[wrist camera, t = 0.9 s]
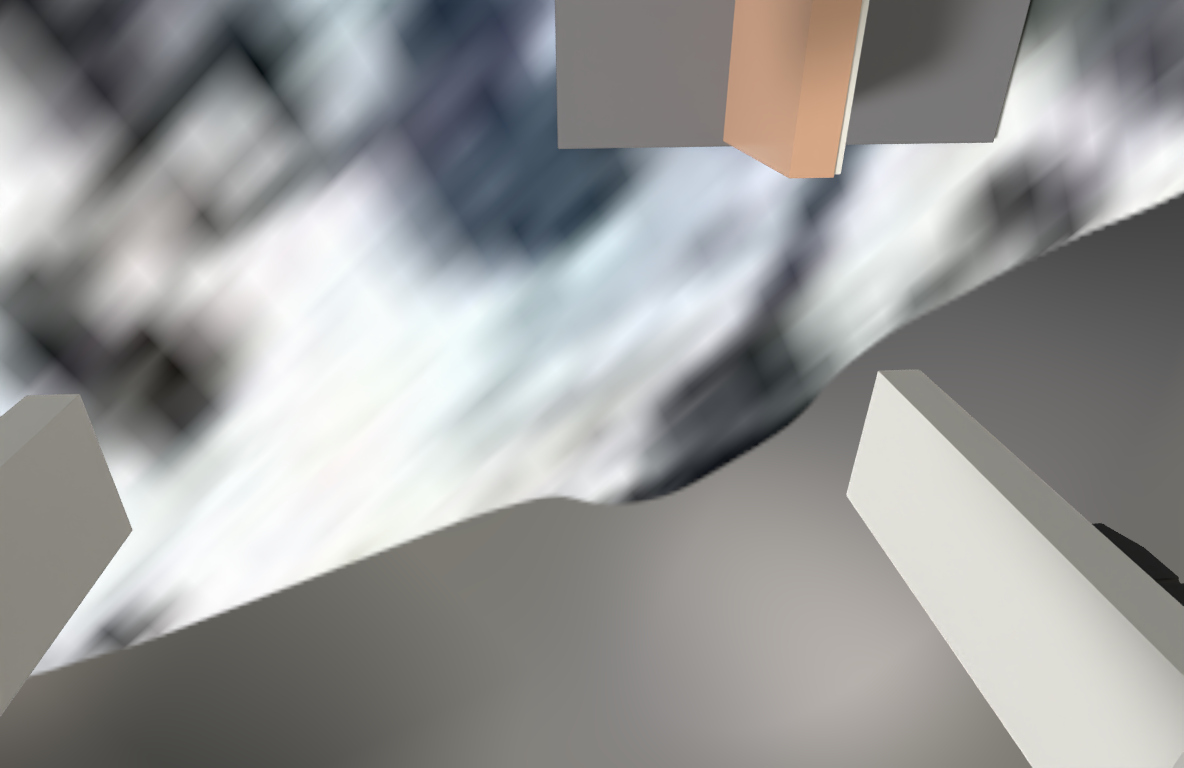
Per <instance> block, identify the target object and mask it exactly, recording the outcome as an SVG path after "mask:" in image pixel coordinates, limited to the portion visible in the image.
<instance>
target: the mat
mask: <svg viewBox="0 0 1184 768" xmlns="http://www.w3.org/2000/svg"><path fill="white" fill-rule="evenodd" d="M1029 4H1030V0H869V6H868V12H867V18H866V24H865V30H864V36H863V42H862V48H861V54H860V60H859V66H858V72H857V78H856V84H855V90H854V96H853V102H852V108H851V114H850V120H849V126H848V132H847V138H846V144H845V145H851V144H920V143H989V142H993V141H994V137H995V133H996V129H997V125H998V122H999V118H1000V114H1001V110H1002V106H1003V103H1004V99H1005V95H1006V91H1007V87H1008V84H1009V80H1010V76H1011V72H1012V68H1013V64H1014V61H1015V57H1016V53H1017V49H1018V45H1019V42H1020V38H1021V34H1022V30H1023V26H1024V23H1025V19H1026V15H1027V11H1028V7H1029ZM734 10H735V0H555V26H556V77H557V127H558V149H576V148H645V147H713V146H731V145H729V144H728V143H726V142H724V141H723V136H724V125H725V113H726V102H727V90H728V79H729V67H730V56H731V44H732V33H733V21H734Z"/></svg>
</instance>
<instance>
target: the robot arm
mask: <svg viewBox="0 0 1184 768" xmlns="http://www.w3.org/2000/svg"><path fill="white" fill-rule="evenodd" d="M846 496H847V497H848V499H849V500H850V501H851V503H852V504H853V506H854V507H855V509H856V510H857V512H858V513H859V515H860V516H861V517H862V519H863V520H864V522H865V523H866V525H867V526H868V528H869V529H870V531H871V532H872V534H873V535H874V536H875V538H876V539H877V541H878V542H879V544H880V545H881V547H882V548H883V550H884V551H885V553H886V554H887V556H888V557H889V558H890V560H891V561H892V563H893V564H894V566H895V567H896V569H897V570H898V572H899V573H900V575H901V576H902V577H903V579H904V580H905V582H906V583H907V585H908V586H909V587H910V589H911V590H912V592H913V593H914V595H915V596H916V598H917V599H918V601H919V602H920V604H921V605H922V606H923V608H924V610H925V611H926V612H927V614H928V615H929V617H930V618H931V620H932V621H933V623H934V624H935V626H936V627H937V629H938V630H939V632H940V633H941V634H942V636H943V637H944V639H945V640H946V642H947V643H948V645H949V646H950V648H951V649H952V651H953V652H954V653H955V655H956V656H957V658H958V659H959V661H960V662H961V664H962V665H963V667H964V668H965V669H966V671H967V672H968V674H969V675H970V677H971V678H972V680H973V681H974V683H975V684H976V686H977V687H978V688H979V690H980V691H981V693H982V694H983V696H984V697H985V699H986V700H987V702H988V703H989V704H990V706H991V708H992V709H993V710H994V712H995V713H996V715H997V716H998V718H999V719H1000V721H1001V722H1002V723H1003V725H1004V727H1005V728H1006V729H1007V731H1008V732H1009V734H1010V735H1011V737H1012V738H1013V740H1014V741H1015V743H1016V744H1017V745H1018V747H1019V748H1020V750H1021V751H1022V753H1023V754H1024V756H1025V757H1026V759H1027V760H1028V762H1029V763H1030V764H1031V766H1032V767H1033V768H1184V584H1181V583H1180V582H1179V580H1178V579H1179V578H1178V576H1177V575H1175V574H1174V573H1173V572H1172V571H1171V570H1170V569H1168V568H1167V567H1166V566H1165V565H1164V564H1163V563H1161V562H1160V561H1159V560H1158V559H1157V558H1156V557H1154V556H1153V555H1152V554H1151V553H1150V552H1149V551H1147V550H1146V549H1145V548H1144V547H1142V546H1140V545H1139V544H1137V543H1135V542H1133V541H1131V540H1130V539H1128V538H1126V537H1125V536H1123V535H1121V534H1119V533H1118V532H1116V531H1114V530H1112V529H1111V528H1109V527H1107V526H1105V525H1104V524H1101V523H1098V524H1091V523H1090V522H1089V521H1088V520H1086V519H1085V518H1084V517H1083V516H1082V515H1081V514H1080V513H1079V512H1078V511H1076V510H1075V509H1074V508H1073V507H1072V506H1071V505H1070V504H1069V503H1067V502H1066V501H1065V500H1064V499H1063V498H1062V497H1061V496H1060V495H1058V494H1057V493H1056V492H1055V491H1054V490H1053V489H1052V488H1051V487H1050V486H1049V485H1047V484H1046V483H1045V482H1044V481H1043V480H1042V479H1041V478H1040V477H1039V476H1037V475H1036V474H1035V473H1034V472H1033V471H1032V470H1031V469H1030V468H1028V467H1027V466H1026V465H1025V464H1024V463H1023V462H1022V461H1021V460H1019V459H1018V458H1017V457H1016V456H1015V455H1014V454H1013V453H1012V452H1011V451H1010V450H1008V449H1007V448H1006V447H1005V446H1004V445H1003V444H1002V443H1000V442H999V441H998V440H997V439H996V438H995V437H994V436H993V435H992V434H990V433H989V432H988V431H987V430H986V429H985V428H984V427H983V426H982V425H980V424H979V423H978V422H977V421H976V420H975V419H974V418H972V416H970V415H969V414H968V413H967V412H966V411H965V410H964V409H963V408H962V407H960V406H959V405H958V404H957V403H956V402H955V401H954V400H953V399H951V398H950V397H949V396H948V395H947V394H946V393H945V392H944V391H942V390H941V389H940V388H939V387H938V386H937V385H936V384H935V383H934V382H933V381H931V380H930V379H929V378H928V377H927V376H926V375H925V374H923V373H922V372H921V371H920V370H891V371H878V374H877V378H876V382H875V386H874V390H873V393H872V397H871V402H870V405H869V409H868V413H867V417H866V421H865V425H864V429H863V433H862V436H861V440H860V444H859V448H858V452H857V455H856V459H855V463H854V467H853V471H852V475H851V479H850V483H849V487H848V491H847V494H846ZM131 532H132V528H131V525H130V522H129V520H128V517H127V515H126V512H125V510H124V507H123V504H122V502H121V499H120V497H119V494H118V491H117V489H116V486H115V484H114V481H113V479H112V476H111V473H110V471H109V468H108V466H107V463H106V461H105V458H104V455H103V453H102V450H101V448H100V445H99V443H98V440H97V437H96V435H95V432H94V430H93V427H92V425H91V422H90V419H89V417H88V414H87V412H86V409H85V407H84V404H83V401H82V399H81V396H80V394H64V395H30V396H26V397H24V398H23V399H22V400H21V401H19V402H18V403H17V404H16V405H15V406H13V407H12V408H11V409H10V410H8V411H7V412H6V413H5V414H4V415H2V416H1V417H0V716H1V715H2V713H3V712H4V711H5V709H6V708H7V706H8V705H9V704H10V702H11V701H12V699H13V698H14V697H15V695H16V694H17V692H18V691H19V690H20V688H21V686H22V685H23V684H24V682H25V681H26V680H27V678H28V677H29V675H30V674H31V673H32V671H33V670H34V668H35V667H36V666H37V664H38V663H39V661H40V660H41V659H42V657H43V656H44V654H45V653H46V651H47V650H48V649H49V647H50V646H51V644H52V643H53V642H54V640H55V639H56V637H57V636H58V635H59V633H60V632H61V630H62V629H63V627H64V626H65V625H66V623H67V622H68V620H69V619H70V618H71V616H72V615H73V613H74V612H75V611H76V609H77V608H78V606H79V605H80V604H81V602H82V601H83V599H84V598H85V596H86V595H87V594H88V592H89V591H90V589H91V588H92V587H93V585H94V584H95V582H96V581H97V580H98V578H99V577H100V575H101V574H102V573H103V571H104V570H105V568H106V567H107V565H108V564H109V563H110V561H111V560H112V558H113V557H114V556H115V554H116V553H117V551H118V550H119V549H120V547H121V546H122V544H123V543H124V541H125V540H126V539H127V537H128V536H129V534H130V533H131Z"/></svg>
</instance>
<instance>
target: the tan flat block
mask: <svg viewBox="0 0 1184 768" xmlns="http://www.w3.org/2000/svg"><path fill="white" fill-rule="evenodd" d="M868 6H869V0H735V10H734V21H733V33H732V44H731V56H730V67H729V79H728V90H727V102H726V113H725V125H724V136H723V141H724V142H726V143H728V144H729V145H731V146H733V147H735V148H736V149H738V150H740V151H742V152H744V153H745V154H747V155H749V156H751V157H752V158H754V159H756V160H758V161H759V162H761V163H763V164H765V165H767V166H768V167H770V168H772V169H774V170H775V171H777V172H779V173H781V174H783V175H784V176H786V177H788V178H828V177H834V174H841V168H842V162H843V156H844V150H845V144H846V138H847V132H848V126H849V120H850V114H851V108H852V102H853V96H854V90H855V84H856V78H857V72H858V66H859V60H860V54H861V48H862V42H863V36H864V30H865V24H866V18H867V12H868Z"/></svg>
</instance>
